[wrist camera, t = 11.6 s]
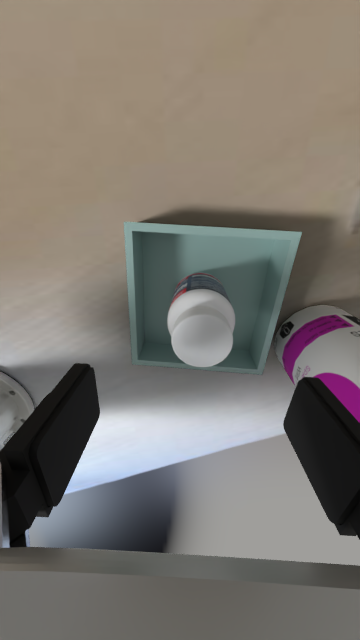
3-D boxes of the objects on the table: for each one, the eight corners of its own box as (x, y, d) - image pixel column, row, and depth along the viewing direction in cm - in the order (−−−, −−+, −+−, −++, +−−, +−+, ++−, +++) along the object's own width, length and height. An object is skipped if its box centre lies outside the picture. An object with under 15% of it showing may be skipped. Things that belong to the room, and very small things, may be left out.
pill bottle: (181, 265, 20) (172, 292, 12) (232, 279, 20) (258, 316, 12) (168, 313, 22) (154, 364, 14) (215, 325, 22) (226, 382, 14)
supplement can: (266, 366, 25) (353, 535, 11) (278, 302, 22) (423, 435, 8) (337, 367, 24) (516, 546, 11) (360, 302, 21) (668, 444, 7)
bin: (251, 352, 24) (262, 374, 21) (141, 343, 25) (132, 364, 21) (281, 230, 19) (302, 232, 15) (137, 222, 19) (123, 221, 15)
